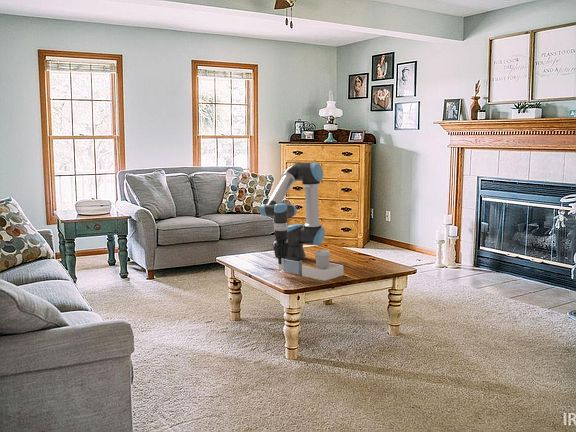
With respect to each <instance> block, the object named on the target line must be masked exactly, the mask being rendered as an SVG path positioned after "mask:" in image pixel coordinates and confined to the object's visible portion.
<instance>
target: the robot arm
mask: <svg viewBox="0 0 576 432" xmlns="http://www.w3.org/2000/svg"><path fill="white" fill-rule="evenodd" d="M323 179H324V170H323V166H322V165H321V163H318V162H295V163H292V164H291V165H290V166H288V167H287V168H286V169H285V170H284V171H283V172H282V174H281V176H280V180H279V182H278V184H277V186H276V187H275V189H274V191H273V192H272V193H271V195H270V196H269V199H268V201H267V202H266V203H262V204H261V205H260V206H259V213H260V216H263V217H269V218H270V217H271V218H272V217H273V218H274V224H273V225H274V227H273V228H274V237H275V240H274V242H272V243H271V245H272V246H273V247H272V248H273V253H274V258H276V259H278V260H277V262H278V269H279V270H281V271H283V269H284V259H287V260H292V261H297V262H298V261H300V260H302V261H303V260H305V259H306V258H307V255H306V253H305V249H304V245H311V246H312V245H313V246H319V245H322V244H323V242H324V240H325V236H326V230H325V229H326V228H324V227H322V223H321V222H320V211H319V210H320V209H319V208H320V207H319V204H320V203H319V186H320V184H321V182H322V181H323ZM298 181H301V184H302V185H303V187H304V201H305V223H304V224H303V223H294V224H289V225H288V219H289V218H292V217H294V216H296V214H297V212H298V211H297V210H298V209H297V207H296V206H295V205H294V204H287V203H284V202H283V200H284V199H285V196H286V195H287V194H288V192H289V190H290V188H291V186H292V185H294V184H295V183H296V182H298ZM282 202H283V203H282Z"/></svg>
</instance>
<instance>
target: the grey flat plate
mask: <svg viewBox="0 0 576 432" xmlns="http://www.w3.org/2000/svg"><path fill="white" fill-rule="evenodd" d="M282 272H286V273H290V274H295V275H300V261H298V260H297V261H292V260H287V259H284V269H283V270H282Z"/></svg>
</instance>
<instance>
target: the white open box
mask: <svg viewBox="0 0 576 432" xmlns="http://www.w3.org/2000/svg"><path fill="white" fill-rule="evenodd" d="M299 262H300V274H299V276H301V277H306V278H309V279H314V280H320V281H323V282H326V281H328V280H332V279H336V278H339V277H342V276H344V264H339V263H333V262H329V269H326V270H322V269H317V267H311V266H306V265H303V260H299Z"/></svg>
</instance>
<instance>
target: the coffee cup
mask: <svg viewBox="0 0 576 432" xmlns="http://www.w3.org/2000/svg"><path fill="white" fill-rule="evenodd" d="M331 254H332V253H331V252H330V250H329V249H326V248H325V249H322V248H321V249H316V250H315V252H314V255H315V264H316V265H315V266H316V267H315V268H317V269H322V270H326V269H329V263H330V259H331Z"/></svg>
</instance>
